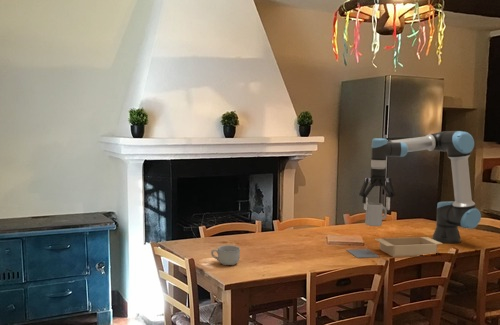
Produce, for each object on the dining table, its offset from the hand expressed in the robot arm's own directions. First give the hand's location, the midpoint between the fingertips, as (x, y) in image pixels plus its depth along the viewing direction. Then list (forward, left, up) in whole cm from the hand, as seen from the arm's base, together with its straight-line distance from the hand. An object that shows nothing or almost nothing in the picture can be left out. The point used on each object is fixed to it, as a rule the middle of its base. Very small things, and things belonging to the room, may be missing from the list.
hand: (376, 209), depth 247 cm
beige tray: (-18, 0, -23) cm, 29 cm away
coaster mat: (+7, 0, -23) cm, 24 cm away
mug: (0, 0, -8) cm, 8 cm away
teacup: (+80, +8, -23) cm, 84 cm away
